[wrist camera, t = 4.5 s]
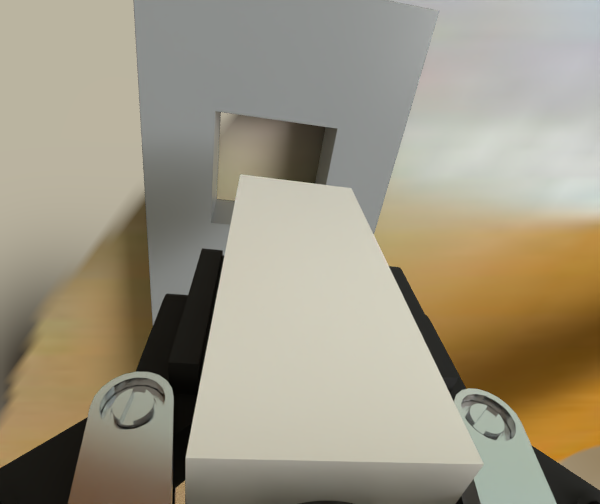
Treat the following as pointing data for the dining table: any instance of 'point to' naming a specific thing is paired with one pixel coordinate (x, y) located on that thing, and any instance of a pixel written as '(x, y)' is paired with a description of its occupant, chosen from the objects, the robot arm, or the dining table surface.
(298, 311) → the cord plug
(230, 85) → the board
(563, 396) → the dining table surface
